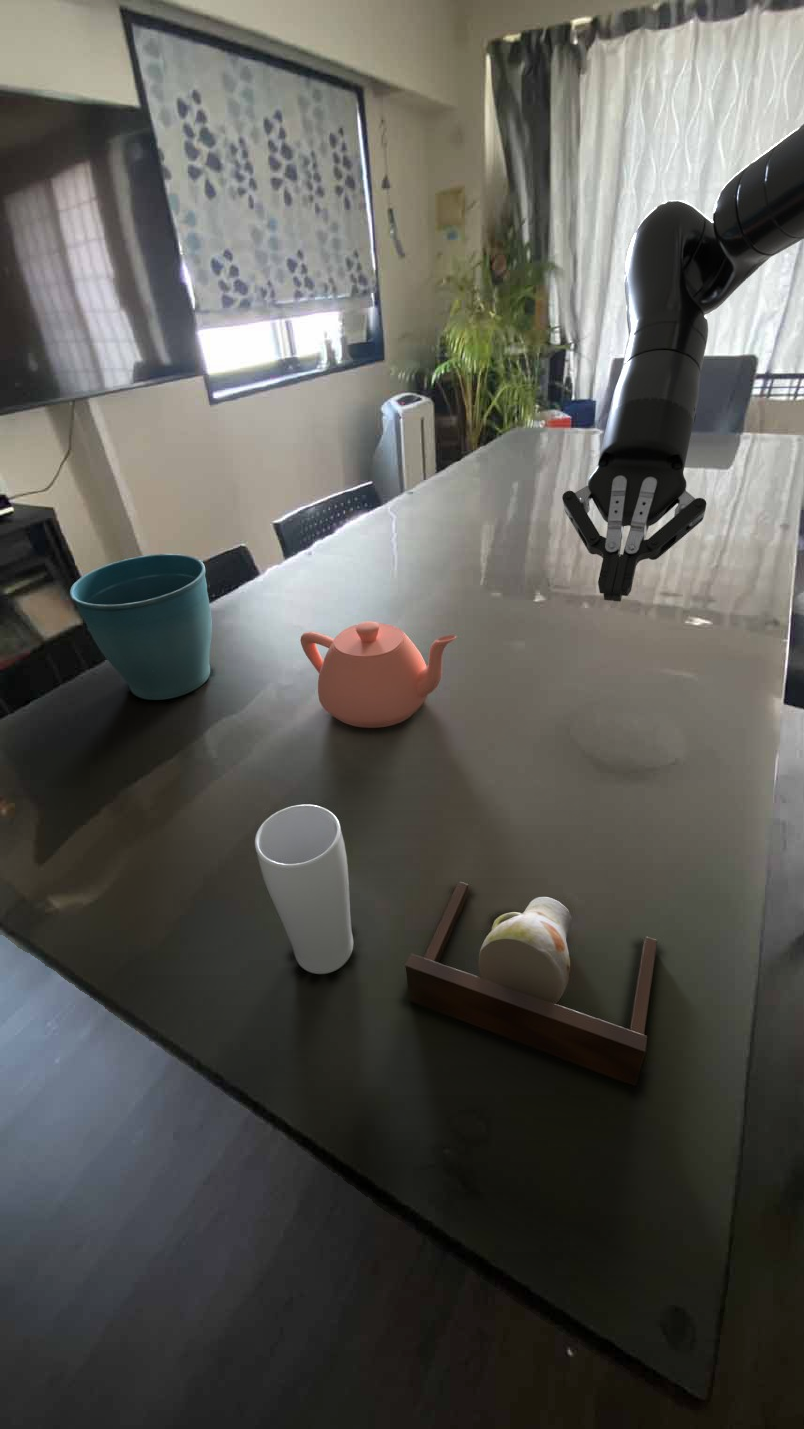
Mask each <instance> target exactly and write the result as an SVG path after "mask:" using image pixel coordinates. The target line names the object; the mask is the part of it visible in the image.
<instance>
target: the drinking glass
mask: <svg viewBox="0 0 804 1429" xmlns="http://www.w3.org/2000/svg"><path fill="white" fill-rule="evenodd" d="M254 848H255V852H256V857H257V861H258V862H257V863H258V866H259V870H260V872H261V873H260V874H261V876H262V879H263V882H264V885H265V887H266V888H265V889H267V892H268V895H269V897H270V900H271V902H272V904H273V906H274V909H275V911H276V912H277V915H278V917H279V919H280V922H281V924H282V926H283V929H284V931H285V933H286V936H287V938H288V940H289V943H290V945H291V948H292V952H293V954H294V958H295V961H296V962H297V964H298V965H299V966H300V967H301V968H302V969H303V970H305V971H306V972H308V973H311V974H315V975H326V974H331V973H333V972H335V971H337V970H339V969H340V968H342V967H343V966H344V965H345V964H346V963H347V962H348V961H349V959H350V958H351V956H352V953H353V950H354V942H355V941H354V936H353V930H352V918H351V916H352V914H351V899H350V881H349V880H350V879H349V877H350V876H349V865H348V856H347V850H346V845H345V839H344V835H343V832H342V828H341V823H340V821H339V819H338V818H337V816H336V815H335V814H334V813H333V812H332V811H330V810H329V809H327V808H326V807H322V806H319V805H315V804H296V805H291V806H288V807H285V808H283V809H282V808H281V809H280V810H278V811H275V813H273V814H271V815H270V816H269V817H268V818H266V819H265V820H264V821H263V822H262V823H261V825H260V826H259V828H258V830H257V831H256V834H255V838H254Z"/></svg>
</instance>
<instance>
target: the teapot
mask: <svg viewBox="0 0 804 1429" xmlns="http://www.w3.org/2000/svg"><path fill="white" fill-rule="evenodd" d="M456 638H457V635H454V634H451V635H444V636H441V637H439V638H437V639H435V640H434V641H433V642H432V644H431V646H430V648H429V655H428V663H427V664H426V661H425V659H424V658H423V656H422V654H421V652H420V651H419V648H417V647H416V645H415V644H414V643H413V641H412V640H411V638H410V637H409V636H408V635H407V634H406V633H405V632H404V631H403V630H402V629H401V628H398V627H397V626H394V625H391V624H387V623H381V622H379V623H378V622H376V621H370V620H369V621H368V620H367V621H362V622H360V623H358V624H355V625H351V626H349V627H346V628H345V629H343V630H341V631H340V632H339V633H338V634H337V635H336V636H335V638H332V637H330V636H328V635H325V634H322V633H319V632H316V631H306V632H304V633H302V635H301V636H300V641H299V642H300V645H301V648H302V651H303V652H304V654H305V656H306V657H307V659H308V660H309V662H310V664H312V666H313V667H314V669H315V670H316V671H317V673H318V680H317V694H318V695H317V696H318V700H319V703H320V704H321V707H322V708H323V709H324V710H325V712H327V713H328V714H329V715H330V716H332V717H334V718H335V719H336V720H338V721H340V722H342V723H344V724H347V725H349V726H352V727H357V728H365V729H366V728H367V729H376V728H377V729H378V728H384V727H385V728H386V727H390V726H394V725H398V724H400V723H402V722H404V721H406V720H407V719H409V718H410V717H411V716H413V715H414V714H415V713H416V712H417V711H418V710H419V709H420V707H421V706H422V705H423V704H424V702H425V701H426V700H427V698H428V695H430V694H431V693H433V692H434V691H435V689H437V687H438V686H439V684H440V681H441V679H442V675H443V654H444V650H445V649H446V647H447V645H449V644H450V643H451V642H453V641H454V640H455V639H456ZM317 645H319V646H322V647H325V648H326V649H328V650H327V652H326V654H325V656H324V658H323V657H322V656H321V654H320V652H319V649H318V646H317Z"/></svg>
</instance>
